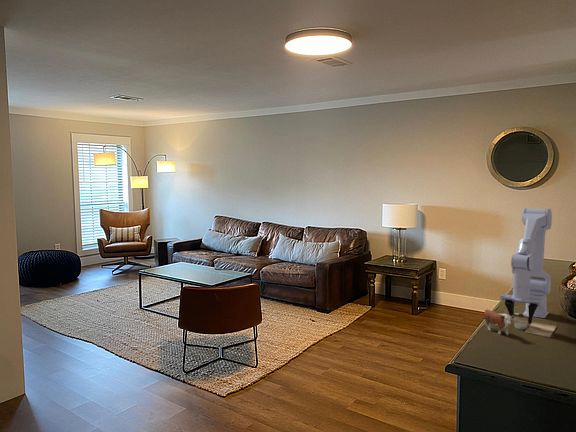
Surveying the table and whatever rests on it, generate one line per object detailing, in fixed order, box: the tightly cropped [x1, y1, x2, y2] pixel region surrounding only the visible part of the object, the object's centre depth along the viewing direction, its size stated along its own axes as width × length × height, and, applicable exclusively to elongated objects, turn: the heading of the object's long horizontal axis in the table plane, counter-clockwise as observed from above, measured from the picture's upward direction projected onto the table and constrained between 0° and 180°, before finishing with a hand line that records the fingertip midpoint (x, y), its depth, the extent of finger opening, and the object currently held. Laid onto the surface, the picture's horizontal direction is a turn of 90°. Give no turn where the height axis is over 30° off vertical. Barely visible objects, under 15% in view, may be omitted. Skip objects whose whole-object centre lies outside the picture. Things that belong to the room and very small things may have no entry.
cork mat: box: [524, 321, 558, 339], centre depth 162 cm, size 14×8×1 cm, turn 140°
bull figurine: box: [483, 309, 514, 336], centre depth 160 cm, size 4×13×8 cm, turn 16°
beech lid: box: [511, 312, 529, 324], centre depth 165 cm, size 6×6×2 cm
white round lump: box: [513, 320, 529, 330], centre depth 166 cm, size 4×4×3 cm
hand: (520, 321), depth 166 cm, fingers closed on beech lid, 5 cm apart
